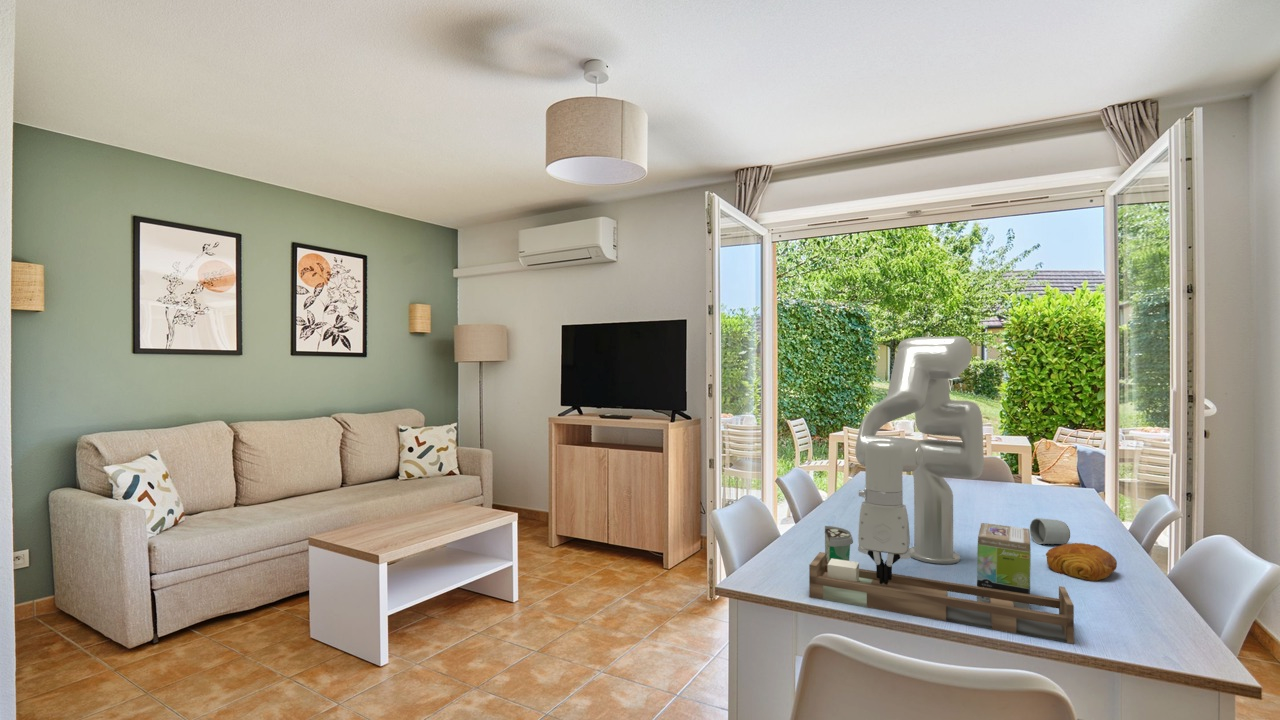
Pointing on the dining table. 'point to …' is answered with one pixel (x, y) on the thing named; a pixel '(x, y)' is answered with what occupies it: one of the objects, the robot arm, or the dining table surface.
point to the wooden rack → (948, 602)
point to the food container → (837, 543)
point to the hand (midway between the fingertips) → (884, 582)
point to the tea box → (1004, 560)
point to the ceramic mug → (1049, 531)
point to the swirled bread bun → (1081, 561)
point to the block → (843, 570)
